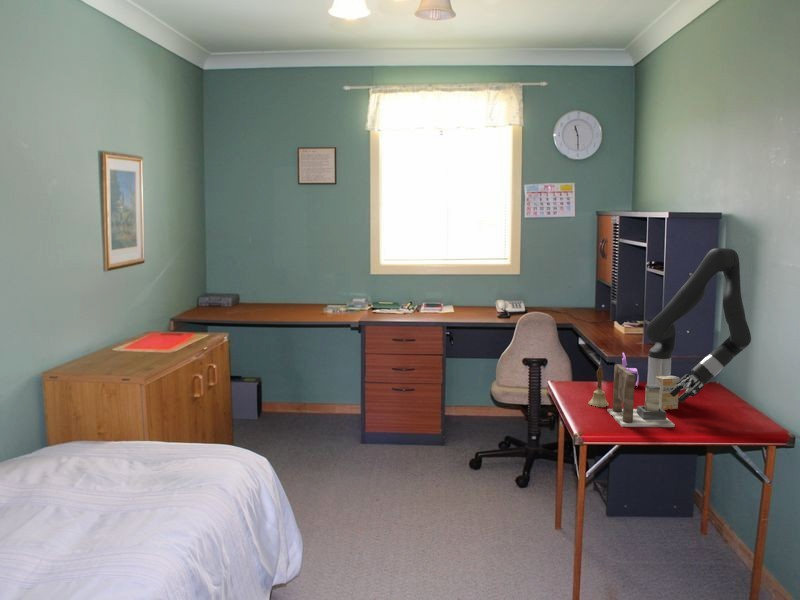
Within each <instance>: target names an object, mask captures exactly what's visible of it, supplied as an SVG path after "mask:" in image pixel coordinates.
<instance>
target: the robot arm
mask: <svg viewBox="0 0 800 600" xmlns="http://www.w3.org/2000/svg"><path fill="white" fill-rule="evenodd" d="M739 257H740V256H739V255H738V252H737V251H736V250H734V249H732V248H729V247H728V248H727V247H726V248H725V247H715V248H712V249H710V250H709V251H708V252H707V253H706V255H705V256H704V258H703V259H702V261H701V262H700V263H699V265H698V267H697V268H696V270H695V271H694V272H693V274H691V275H690V277H689V278H688V279H687V281H686V282H685V283H684V284H683V285H682V286H681V287H680V289H679V290H678V291H677V292H676V294H674V295H673V297H672V299H671V300H670V301H669V302H668V303H667V304H666V306H665V307H664V308H663V309H662V310H661V311H660V312H659V313H658V314H657V315H655V317H654V318H653V319H651V320H650V321H649V322H648V324H647V326H646V328H645V336H646V338H647V340H649V342H653V343H655V344H654V345H653V346H652V347H651V348H650V349H649V350H648V363H647V379H646V381H647V382H646V385H655V384H656V376H658V377H659V376H671V373H672V372H671V371H672V355H673V352H674V351H675V350H674V349H675V344H676V343H675V341H676V326H675V322H677V321H679V320H680V319H682V318H683V317H685V316H686V315H688V314H689V313H692V311H693V310H695V308H696V307H697V306H698V305H699V304H700V303H701V302H702V300H703V299H704V298H705V294H706V291H707V286H708V283H709V281H710V280H711V279H713V277H714V276H715V275H717V274H718V273H723V276H724V280H725V288H724V289H725V290H724V294H723V298H722V308H723V315H724V318H725V321H726V324H727V325H728V331H729V336H728V338H726V339H725V340H724V341H723V342H722V343H721V344H720V345H719V346H717V347H716V348H715V349H713V350H712V351H711V352H710V353H709V354H708V355H706V356H705V357H704V358H703V359H702V360H700V361H699V362H698V363H697V364H696V365H695V366H694V367H693V368H691V369H690V372H691V373H692V374H689V373H686V374H684V375H683V376H682V377H681V378H680V380H679V381H678V382H677V383H676V384H677V385H676V387H675V388H674V389H673V390H672V391H671V392H670V394H671V395H672V396H673V397H675V396H676V395H677V394H678V393H679V394H680V393H681V392H682V391H683V390H685V391H684V392H683V393H682V394H680V395H679V397H678V402H679V403H681V404H682V403H684V402H685V401H686V400H687V399H688V398H690V397H692V398H694V397H695V396H696V395H698V394H699V392H701V390H703V389H704V387H705V385H707V384H709V382H711V380H713V378H715V377H716V376H717V375H718V374H719V373H720V372H722V370H723V369H724V368H725V367H726V366H727V365H728V364H729V363H730V362H731V361H732V360H733V359H734V358H735V357H736V356H738V355H739V354H740V353H741V352H743V350H745V349H746V348H747V347H748V346H750V344H751V341H752V335H751V331H750V327H749V324H748V322H747V319H746V313H745V307H744V304H743V298H742V291H741V290H742V288H741V271H740V270H741V267H740V258H739Z"/></svg>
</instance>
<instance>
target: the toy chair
mask: <svg viewBox="0 0 800 600" xmlns="http://www.w3.org/2000/svg"><path fill="white" fill-rule="evenodd" d="M621 361H622V363H621V365H622V366H624V367H625V368H626V369H627V370H628V371H630V372H631V373H632V374H637V379H636V382H635V386H637V387H636V388H638V386H639V382H640V381H639V380H640V375H639V373H638V372H639V371H638V369H637V368H635V367H627V366H628V362H627V358H626V355H625V352H622V357H621Z"/></svg>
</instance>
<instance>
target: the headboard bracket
mask: <svg viewBox="0 0 800 600" xmlns="http://www.w3.org/2000/svg"><path fill="white" fill-rule="evenodd" d="M626 368H627V367H626ZM626 368H625V367H624V366H623V365H622V363H621V364H615V365H614V369H613V371H614V372H613V373H614V374H613V392H612V393H613V394H612V395H613V396H612V408H607V412H608V413H609V414H610V416H611V415H612V416H613V417H612V416H611V417H612V418H613V419H614V420H615V421H616V422H617V423H618V424H619V425H620V427H622V428H623V427H626V428H627V427H628V428H629V427H632V428H638V427H639V428H642V427H643V428H675V423H674V422H672V420H670V419H669V418H668V417H667V412H666V410H663V409H662V408H660V407H659V411H645V405H637V406H636V408H634V401H635V386H636V382H635V381H636V375H635V373H631V372H630V371H628V370H627V369H626Z"/></svg>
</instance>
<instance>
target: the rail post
mask: <svg viewBox="0 0 800 600" xmlns="http://www.w3.org/2000/svg"><path fill="white" fill-rule="evenodd" d="M659 393H660V387H659V386H657V385H647V384H645V396H644V397H645V398H644V406H645V411H659Z"/></svg>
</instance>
